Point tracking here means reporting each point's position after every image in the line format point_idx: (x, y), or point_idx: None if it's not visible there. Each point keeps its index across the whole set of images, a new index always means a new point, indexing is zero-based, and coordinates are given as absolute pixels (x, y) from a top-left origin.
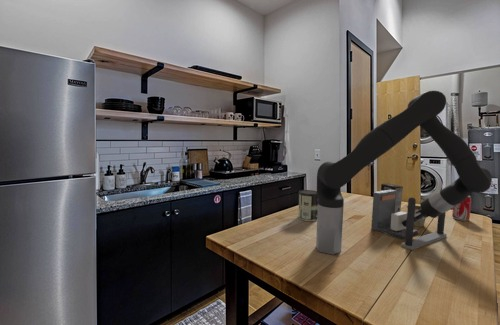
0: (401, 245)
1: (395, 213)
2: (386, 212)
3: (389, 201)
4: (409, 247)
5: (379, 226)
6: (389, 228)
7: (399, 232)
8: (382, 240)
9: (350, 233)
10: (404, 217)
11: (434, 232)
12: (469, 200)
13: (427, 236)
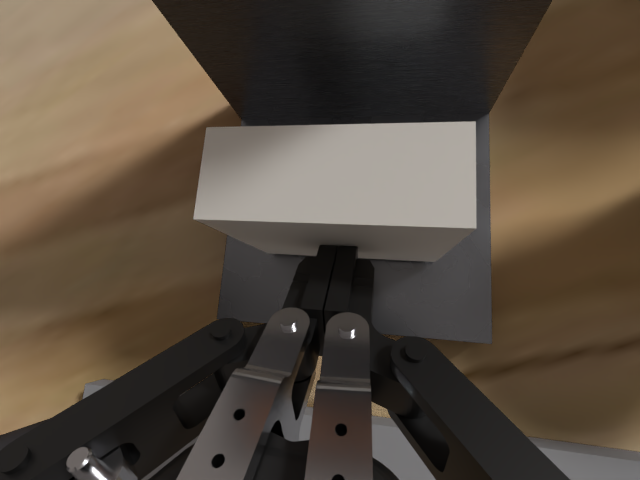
0: (99, 381)
1: (263, 144)
2: (337, 22)
3: None
4: None
5: (265, 116)
6: None
7: (276, 271)
8: (108, 255)
9: (71, 88)
10: (362, 236)
11: (618, 469)
12: None
13: (413, 461)
